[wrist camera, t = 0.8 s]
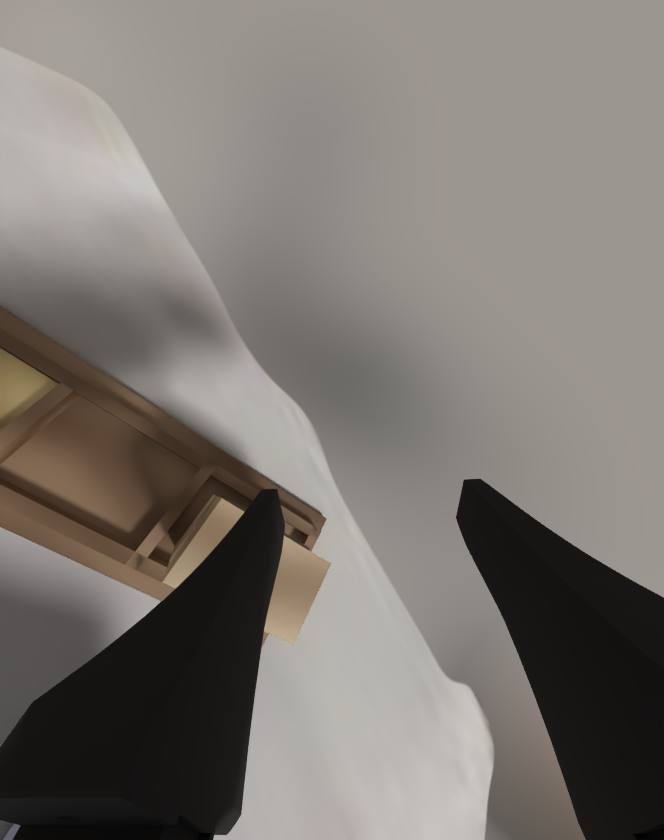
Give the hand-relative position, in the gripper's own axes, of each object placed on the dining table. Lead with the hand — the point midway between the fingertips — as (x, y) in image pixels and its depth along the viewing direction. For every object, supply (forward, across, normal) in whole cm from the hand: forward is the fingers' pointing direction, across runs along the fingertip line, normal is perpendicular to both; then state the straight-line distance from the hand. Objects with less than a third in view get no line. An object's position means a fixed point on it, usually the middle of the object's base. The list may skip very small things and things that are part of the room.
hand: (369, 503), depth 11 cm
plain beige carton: (+6, +9, +9) cm, 14 cm away
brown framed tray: (+7, +17, +3) cm, 18 cm away
